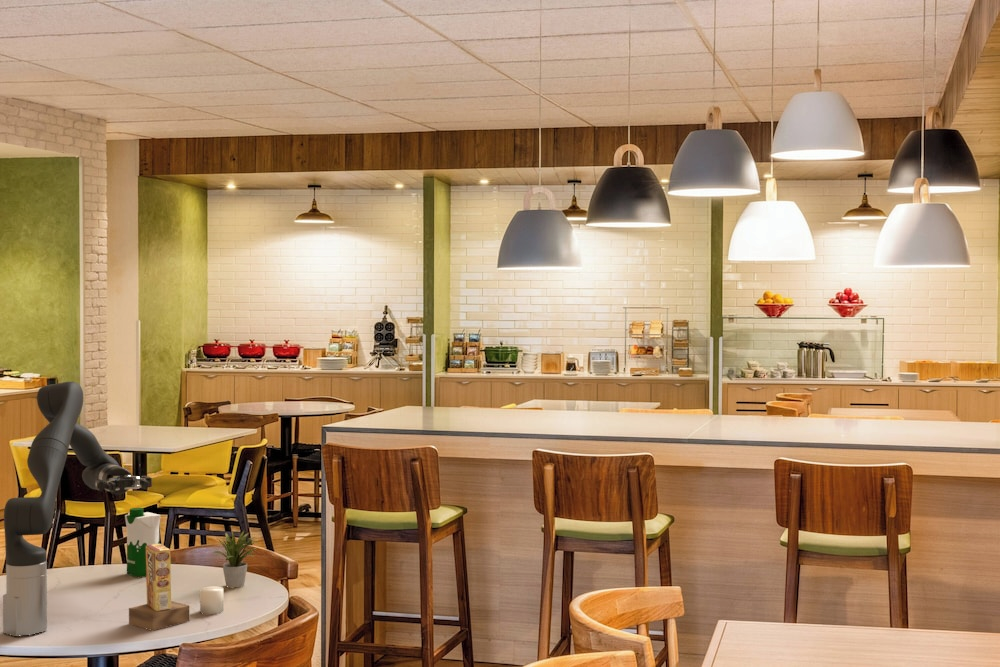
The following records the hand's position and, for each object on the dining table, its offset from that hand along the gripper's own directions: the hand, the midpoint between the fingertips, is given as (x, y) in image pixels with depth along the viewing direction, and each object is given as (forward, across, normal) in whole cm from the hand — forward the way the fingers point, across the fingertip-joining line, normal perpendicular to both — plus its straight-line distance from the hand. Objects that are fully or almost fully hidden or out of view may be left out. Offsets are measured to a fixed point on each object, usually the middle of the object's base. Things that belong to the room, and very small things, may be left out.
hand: (130, 486), depth 306 cm
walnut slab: (+22, +1, +32) cm, 39 cm away
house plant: (-4, +31, +32) cm, 45 cm away
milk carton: (-34, +13, +32) cm, 49 cm away
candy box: (+22, +1, +28) cm, 36 cm away
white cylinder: (+19, +16, +32) cm, 40 cm away
